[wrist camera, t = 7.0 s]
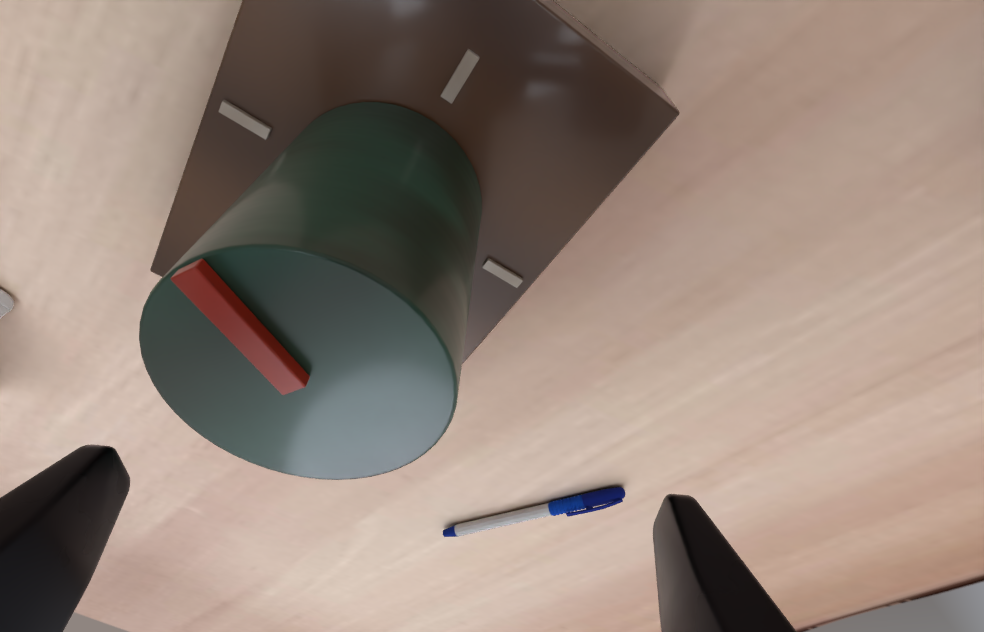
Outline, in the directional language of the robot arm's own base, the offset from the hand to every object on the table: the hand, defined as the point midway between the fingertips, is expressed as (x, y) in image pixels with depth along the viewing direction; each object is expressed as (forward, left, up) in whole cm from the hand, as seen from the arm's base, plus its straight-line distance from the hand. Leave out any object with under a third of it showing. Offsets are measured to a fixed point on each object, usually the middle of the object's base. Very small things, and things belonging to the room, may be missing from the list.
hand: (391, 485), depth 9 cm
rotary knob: (+1, -2, -10) cm, 10 cm away
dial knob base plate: (+1, -2, -13) cm, 13 cm away
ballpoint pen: (+14, +13, -13) cm, 23 cm away
